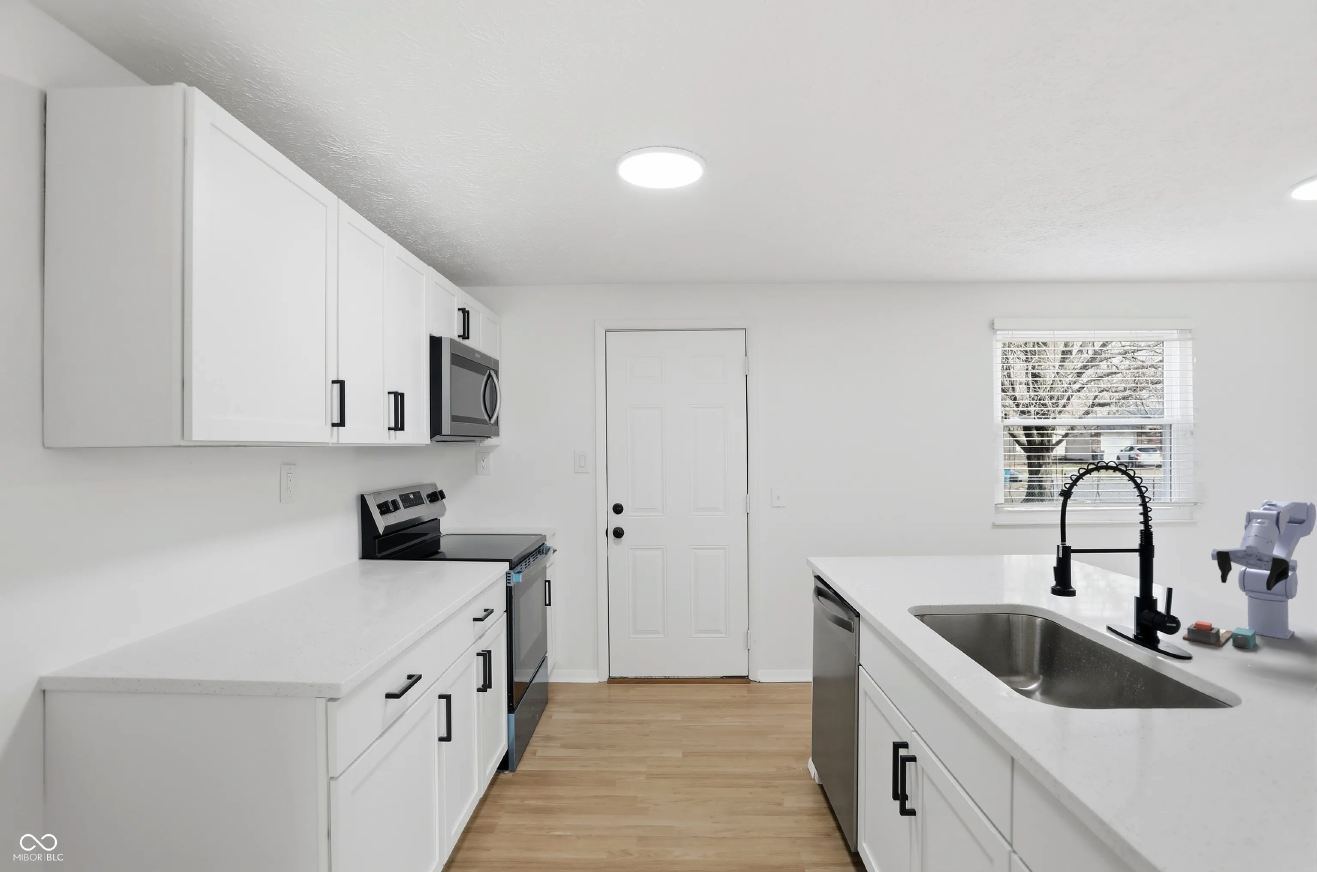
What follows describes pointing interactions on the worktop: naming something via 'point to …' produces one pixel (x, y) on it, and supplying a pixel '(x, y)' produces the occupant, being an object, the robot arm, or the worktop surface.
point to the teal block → (1244, 638)
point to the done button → (1203, 625)
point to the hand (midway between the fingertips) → (1245, 583)
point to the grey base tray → (1208, 635)
